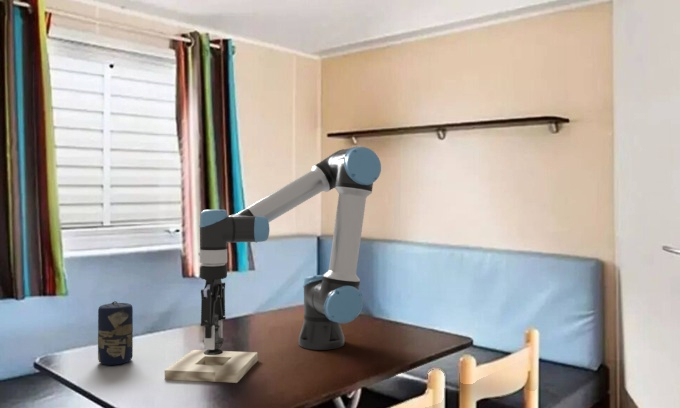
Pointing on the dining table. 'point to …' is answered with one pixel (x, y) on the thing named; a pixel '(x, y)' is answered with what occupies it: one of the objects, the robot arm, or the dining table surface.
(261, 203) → the robot arm
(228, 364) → the socket
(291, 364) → the dining table surface
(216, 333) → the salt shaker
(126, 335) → the canister
